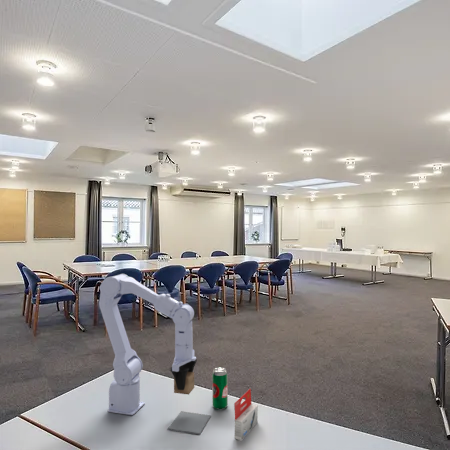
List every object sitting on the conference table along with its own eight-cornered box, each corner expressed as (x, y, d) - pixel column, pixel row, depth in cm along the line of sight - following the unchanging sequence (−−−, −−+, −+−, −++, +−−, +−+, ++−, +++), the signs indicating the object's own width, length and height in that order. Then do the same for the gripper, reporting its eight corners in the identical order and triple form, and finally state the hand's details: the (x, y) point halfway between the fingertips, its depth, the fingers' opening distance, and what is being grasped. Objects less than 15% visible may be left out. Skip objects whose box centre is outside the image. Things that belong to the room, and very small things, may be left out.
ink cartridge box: (258, 422, 102) (257, 389, 103) (241, 441, 93) (241, 405, 93) (250, 420, 104) (250, 387, 104) (233, 439, 94) (233, 403, 94)
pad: (167, 429, 99) (167, 428, 99) (181, 412, 108) (181, 411, 108) (199, 434, 96) (199, 433, 96) (210, 416, 106) (210, 415, 106)
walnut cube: (174, 392, 107) (173, 376, 107) (180, 386, 112) (180, 370, 112) (188, 394, 106) (188, 378, 106) (194, 387, 110) (194, 372, 111)
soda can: (226, 410, 109) (225, 373, 109) (210, 409, 110) (210, 372, 110) (228, 403, 114) (228, 367, 114) (214, 401, 115) (214, 366, 115)
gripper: (187, 351, 101) (187, 397, 101) (202, 337, 115) (203, 377, 115) (165, 349, 103) (165, 394, 102) (183, 336, 117) (183, 375, 116)
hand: (184, 385), depth 109 cm, fingers closed on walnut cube, 5 cm apart
